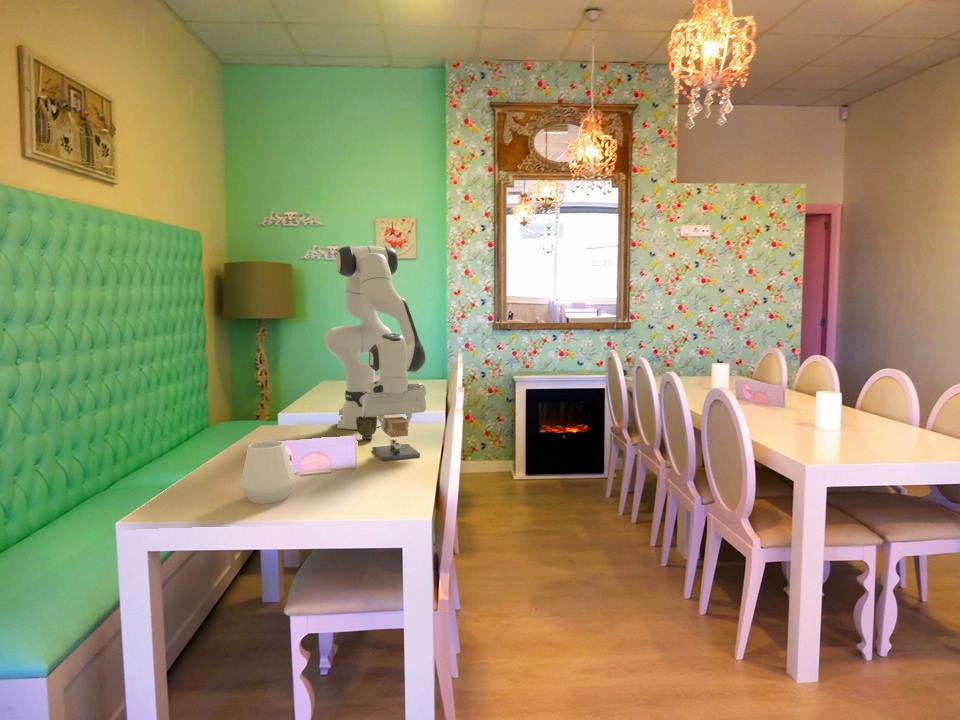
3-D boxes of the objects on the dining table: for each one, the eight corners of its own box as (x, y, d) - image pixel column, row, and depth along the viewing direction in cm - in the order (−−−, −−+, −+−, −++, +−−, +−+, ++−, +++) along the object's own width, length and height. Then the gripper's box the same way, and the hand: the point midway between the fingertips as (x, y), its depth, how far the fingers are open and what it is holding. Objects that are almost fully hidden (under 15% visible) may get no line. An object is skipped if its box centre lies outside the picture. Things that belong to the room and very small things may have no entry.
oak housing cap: (383, 431, 211) (382, 415, 211) (399, 429, 213) (399, 414, 213) (390, 437, 202) (390, 421, 201) (407, 435, 204) (407, 420, 203)
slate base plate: (372, 450, 213) (371, 438, 212) (407, 447, 217) (407, 435, 217) (382, 461, 200) (382, 448, 199) (420, 457, 204) (419, 444, 204)
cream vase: (231, 498, 165) (228, 444, 164) (278, 486, 175) (276, 435, 173) (257, 510, 156) (254, 453, 155) (306, 496, 166) (304, 443, 164)
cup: (375, 441, 225) (375, 419, 224) (354, 442, 225) (353, 419, 225) (379, 437, 233) (378, 415, 232) (358, 437, 233) (358, 415, 232)
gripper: (422, 382, 213) (423, 423, 214) (360, 386, 205) (361, 429, 207) (428, 384, 207) (429, 427, 208) (364, 388, 199) (365, 433, 201)
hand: (395, 428), depth 207 cm, fingers closed on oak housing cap, 5 cm apart
